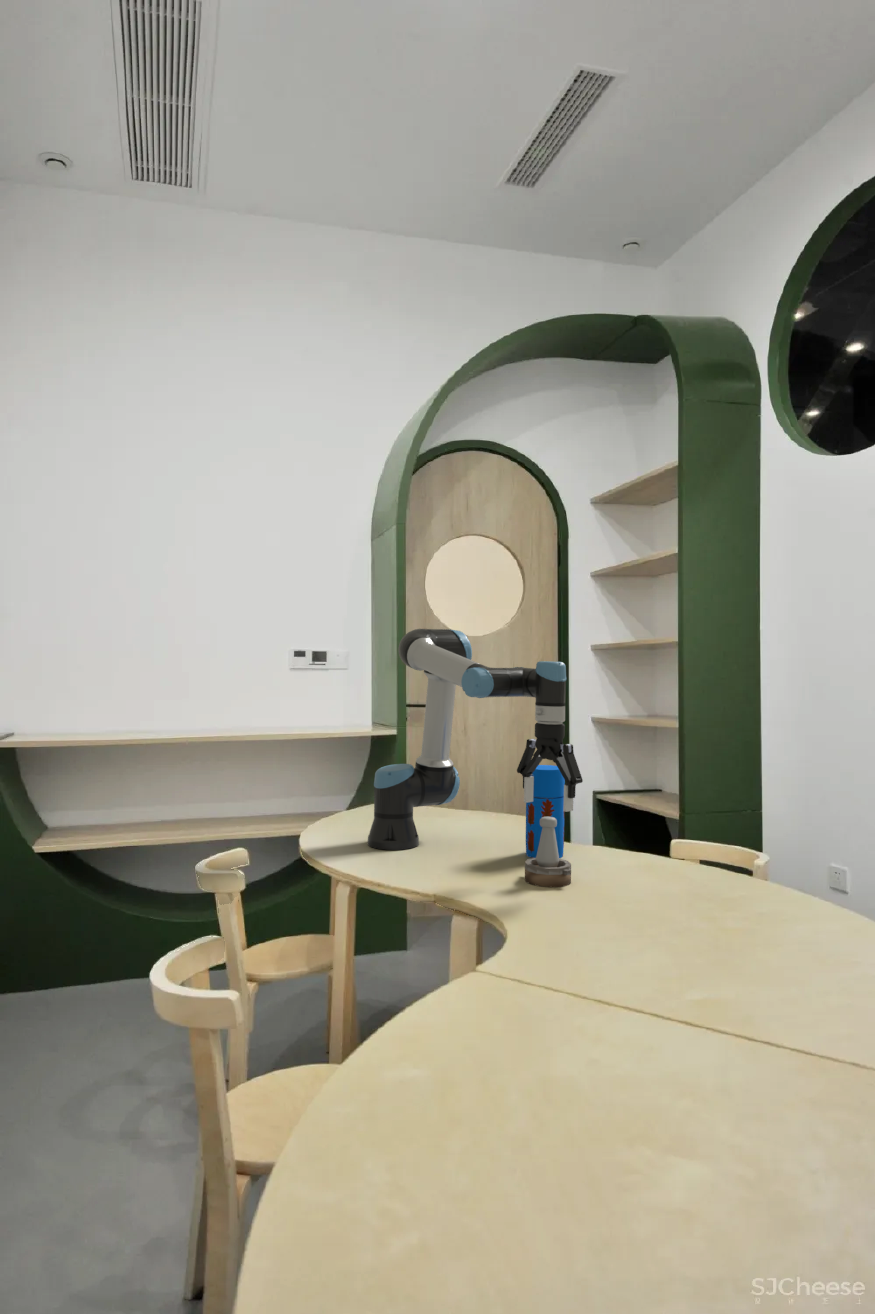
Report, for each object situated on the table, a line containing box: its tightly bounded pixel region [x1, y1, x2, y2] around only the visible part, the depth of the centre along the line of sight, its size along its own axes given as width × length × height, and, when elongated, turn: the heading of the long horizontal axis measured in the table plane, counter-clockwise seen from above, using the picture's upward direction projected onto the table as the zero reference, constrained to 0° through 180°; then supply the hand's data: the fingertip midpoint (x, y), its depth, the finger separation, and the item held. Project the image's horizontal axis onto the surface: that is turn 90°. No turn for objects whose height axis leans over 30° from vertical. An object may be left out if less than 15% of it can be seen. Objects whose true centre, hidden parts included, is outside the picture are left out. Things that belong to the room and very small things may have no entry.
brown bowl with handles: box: [524, 858, 572, 888], centre depth 208 cm, size 14×12×4 cm
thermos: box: [525, 764, 566, 859], centre depth 234 cm, size 11×11×25 cm
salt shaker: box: [536, 817, 560, 868], centre depth 208 cm, size 6×6×13 cm
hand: (547, 806), depth 208 cm, fingers open, 13 cm apart
